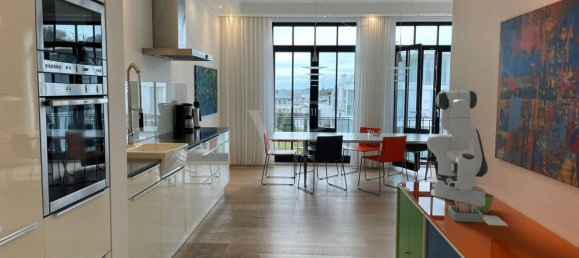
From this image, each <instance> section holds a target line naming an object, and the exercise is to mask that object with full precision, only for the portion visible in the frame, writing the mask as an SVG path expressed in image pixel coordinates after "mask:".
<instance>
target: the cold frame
mask: <svg viewBox="0 0 579 258" xmlns="http://www.w3.org/2000/svg"><path fill="white" fill-rule="evenodd" d="M471 209H472V206H471ZM447 214H448V215H449V216H450V218H451V219H452V221H454V222H466V223H467V222H469V223H470V222H471V223H483V222H484V220H483V215H484V214H483V212H482V211H479V210H478V207H476V208H475V209H474V213H471V214H469V213H459V210H458V209H456V205H447Z"/></svg>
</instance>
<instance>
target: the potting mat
mask: <svg viewBox="0 0 579 258" xmlns="http://www.w3.org/2000/svg"><path fill="white" fill-rule="evenodd" d="M483 222H485V223H486V224H487V225H488V226H499V227H502V226H503V227H509V225H508V224H507V223H506V222H505V221H503V220H502V219H501V218H500V217H499V216H498V215H489V214H488V215H485V214H483Z"/></svg>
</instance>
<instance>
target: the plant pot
mask: <svg viewBox="0 0 579 258" xmlns="http://www.w3.org/2000/svg"><path fill="white" fill-rule="evenodd" d="M494 198H495V195H493V194H491V193H485V206H483V207H479V206H477V209H478V210H479V211H480V212H481V213H489V212H491V210H492V209H491V208H492V204H493V201H494Z"/></svg>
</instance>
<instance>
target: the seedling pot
mask: <svg viewBox="0 0 579 258" xmlns="http://www.w3.org/2000/svg"><path fill="white" fill-rule="evenodd" d="M471 207H472V205H470V204H467V203H463V202H459V213H469V214H471V213H470V212H469V209H471Z"/></svg>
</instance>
